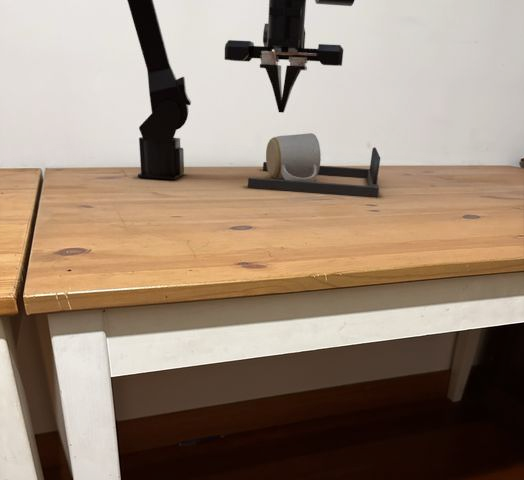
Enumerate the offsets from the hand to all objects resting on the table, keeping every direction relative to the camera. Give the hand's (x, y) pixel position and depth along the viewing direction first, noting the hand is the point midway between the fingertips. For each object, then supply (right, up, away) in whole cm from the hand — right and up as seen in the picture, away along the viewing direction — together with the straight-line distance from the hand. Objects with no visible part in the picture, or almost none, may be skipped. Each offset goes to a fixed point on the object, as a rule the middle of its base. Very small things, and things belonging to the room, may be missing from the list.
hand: (281, 112), depth 88 cm
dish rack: (+6, -10, +4) cm, 13 cm away
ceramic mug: (+3, -10, +5) cm, 12 cm away
